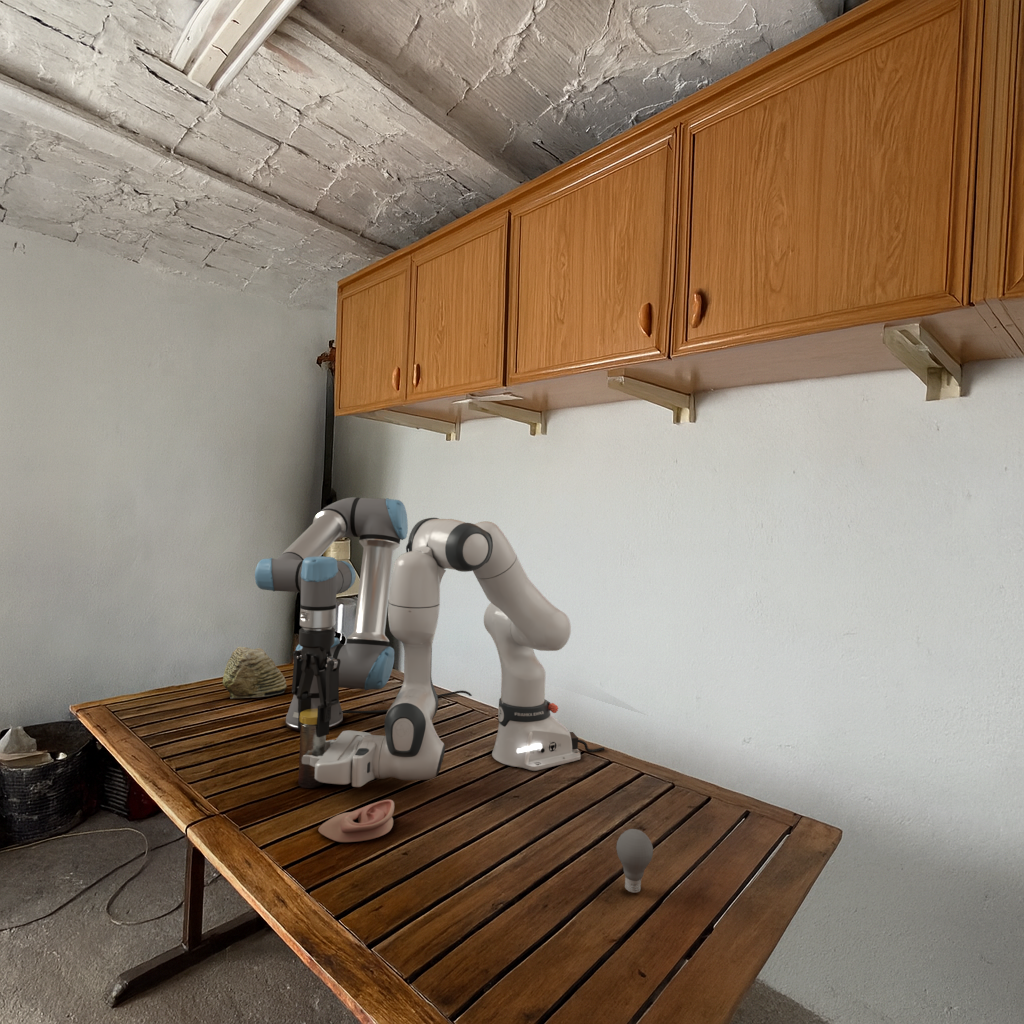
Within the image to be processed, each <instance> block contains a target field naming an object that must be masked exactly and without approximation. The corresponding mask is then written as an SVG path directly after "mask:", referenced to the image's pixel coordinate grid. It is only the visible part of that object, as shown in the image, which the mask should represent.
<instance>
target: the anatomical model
mask: <svg viewBox="0 0 1024 1024" xmlns="http://www.w3.org/2000/svg"><path fill="white" fill-rule="evenodd" d="M394 812H395V801H394V800H392V799H384V800H380V801H377V802H373V803H370V804H368V805H365V806H363V807H360V808H357V809H355V810H353V811H348V812H343V813H340V814H337V815H334V816H333V817H331V818H330V819H328V820H326V821H325V822H323V823H322V824H321V825H320V826H319V827H318V829H317V830H318V832H319V834H321V835H322V836H324V837H325V838H328V839H330V840H332V841H334V842H337V843H355V842H363V841H370V840H374V839H376V838H380V837H382V836H384V835H386V834H388V833H389V832H390V831H391V830H392V828H393V826H394V818H393V815H394Z"/></svg>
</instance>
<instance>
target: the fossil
mask: <svg viewBox="0 0 1024 1024" xmlns="http://www.w3.org/2000/svg"><path fill="white" fill-rule="evenodd" d="M222 676H223V677H222V685H223V687H224V688H225V690H226V691H228V693H229V698H230V699H250V698H264V697H271V696H275V695H281V694H284V693H285V691H286V689H287V687H288V686H287V680H286V678H285V676H284V674H283V673H282V672H281V669H279V668H278V667H277V665H276V663H275V662H274V660H273V659H272V658H271V657H270V656H269V655H268V654H267V653H266V652H265V650H264V649H263V648H260V647H258V648H251V647H247V646H246V647H245V646H238V647H237V648H236V649H235V650H233V651H232V653H231V656H230V657H229V659H228V660H227V663H226V666H225V668H224V671H223V675H222Z"/></svg>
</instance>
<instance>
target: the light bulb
mask: <svg viewBox="0 0 1024 1024" xmlns="http://www.w3.org/2000/svg"><path fill="white" fill-rule="evenodd" d="M615 849H616V854H617V857H618V859H619V861H620V863H621V865H622V867H623V873H624V874H623V875H624V876H625V878H624V888H625V890H627V891H628V892H630V893H634V894H635V893H639V892H640V891H641V889H642V887H641V886H642V879H643V877H644V875H645V871H646V868H647V867H648V866H649V864H650V863H651V861H652V859H653V855H654V847H653V843H652V841H651V838H649V836H648V835H647V834H646V833H645V832H643V831H642V830H641V829H636V828H629V829H627V830H625V831H623V832H622V833H621V834H620V835H619V837H618V839H617V841H616V847H615Z"/></svg>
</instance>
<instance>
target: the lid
mask: <svg viewBox="0 0 1024 1024" xmlns="http://www.w3.org/2000/svg"><path fill="white" fill-rule="evenodd" d="M317 713H318V709H307V710H304V711H302V712H301V713H300V716H299V720H300V722H301V723H303V724H308V725H315V724H317Z"/></svg>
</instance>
